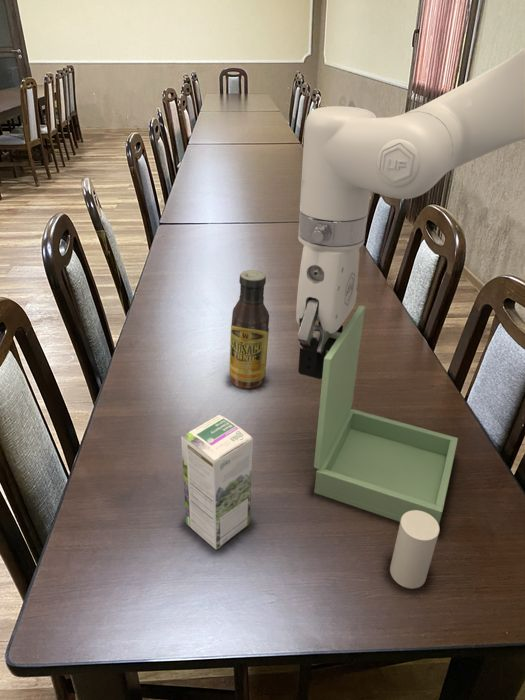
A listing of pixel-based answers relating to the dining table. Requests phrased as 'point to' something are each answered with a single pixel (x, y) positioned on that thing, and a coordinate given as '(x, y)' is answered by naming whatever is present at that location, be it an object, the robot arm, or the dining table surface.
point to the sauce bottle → (249, 332)
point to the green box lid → (337, 383)
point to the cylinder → (414, 548)
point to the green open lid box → (387, 467)
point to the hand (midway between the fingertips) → (319, 361)
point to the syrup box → (217, 479)
